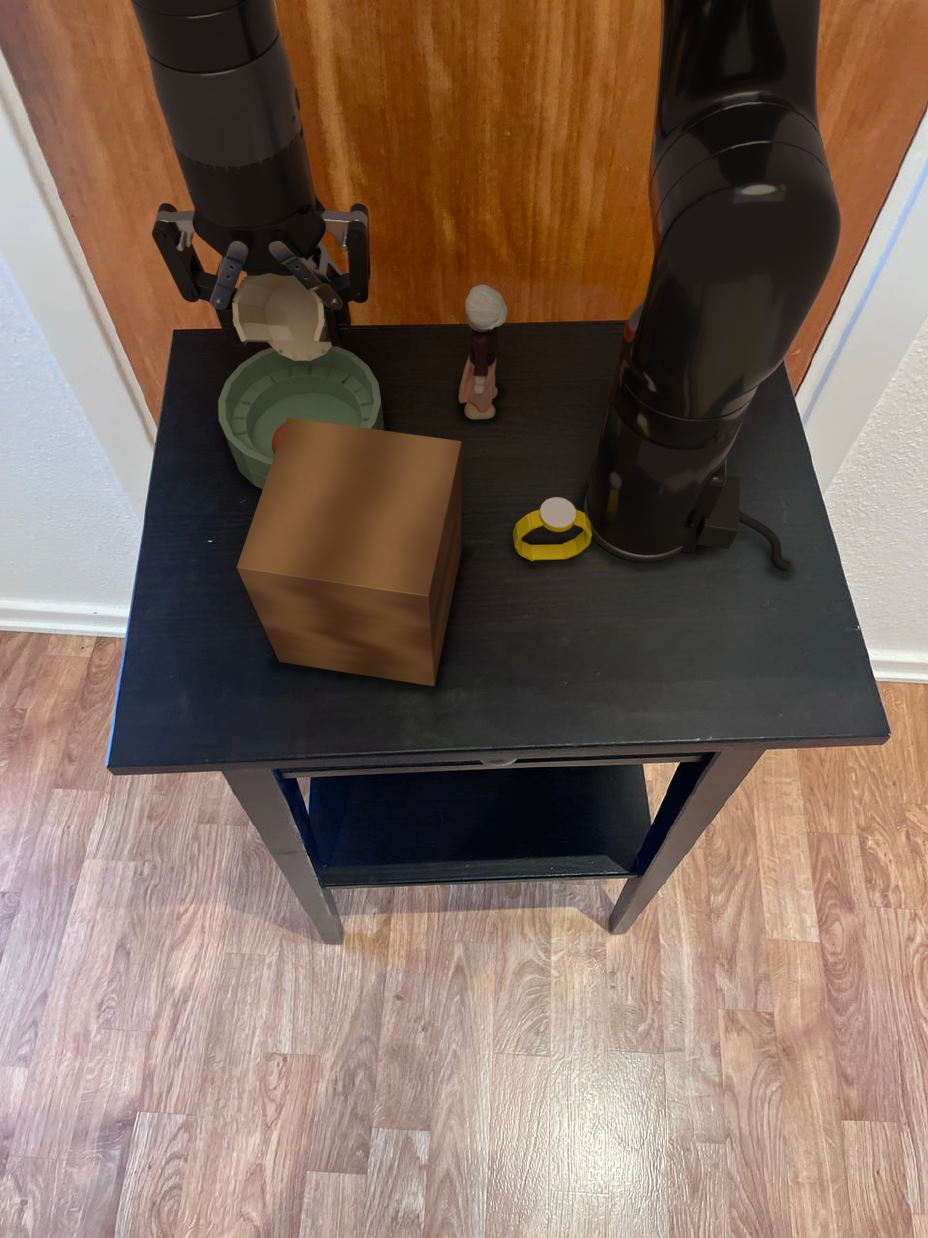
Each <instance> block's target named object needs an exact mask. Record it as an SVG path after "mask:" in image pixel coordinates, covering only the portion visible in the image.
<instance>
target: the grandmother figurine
mask: <svg viewBox="0 0 928 1238" xmlns="http://www.w3.org/2000/svg"><path fill="white" fill-rule="evenodd" d="M464 309H465V319H466V322H467V324H468V326H469V327H470V329H471V333H470V340H469V354H468V358H467V360H466V362H465V366H464V369H463V373H462V375H461V380H460V385H459V390H458V391H459V392H458V398H457V399H458V403H460V404H465V406H464V411H463V413H464V415H465V416H466V418H467V419H470V420H489V419H492V418H493V417H494V416H495V415H496V408H495V406H494V404H493V399H496V397H497V395H498V392H499V390H498V388H497V386H496V366H497V358H498V355H499V337H498V334H499V333H498V328H499V327H501V326H502V325H504V324H505V322H506V321H507V316H508V313H509V312H508V307H507V304H506V303H505V301H504V298H503V296H502V294H501V293H500V292H499V291H498V290H496V289H495V288H493V287H491V286H489V285H487V284H478V285H476V286H473V287H472V288H471V289H470V290H469V292H468V295H467V297H466V299H465V304H464Z"/></svg>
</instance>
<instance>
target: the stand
mask: <svg viewBox="0 0 928 1238" xmlns="http://www.w3.org/2000/svg"><path fill="white" fill-rule="evenodd" d="M462 445H463V443H462V441H461V440H457V439H448V438H440V437H433V436H427V435H418V434H412V433H404V432H396V431H389V430H384V431H383V430H375V429H368V428H361V427H353V426H346V425H339V424H332V423H324V422H317V421H310V420H302V419H295V418H287V420H286V422H285V425H284V428H283V431H282V434H281V437H280V440H279V443H278V446H277V449H276V452H275V455H274V458H273V461H272V464H271V467H270V470H269V473H268V476H267V479H266V482H265V485H264V488H263V489H262V491H261V494H260V497H259V499H258V503H257V505H256V508H255V511H254V515H253V517H252V520H251V523H250V526H249V530H248V533H247V535H246V538H245V541H244V544H243V547H242V551H241V553H240V556H239V558H238V563H237V565H236V569H237V571H238V574H239V577H240V578H241V580H242V583H243V585H244V587H245V590H246V591H247V594H248V596H249V598H250V601H251V603H252V605H253V607H254V609H255V611H256V614H257V616H258V618H259V621H260V623H261V625H262V627H263V629H264V632H265V633H266V636H267V638H268V641H269V643H270V645H271V648H272V649H273V651H274V654H275V656H276V658H277V660H278V662H279V663H283V664H284V663H285V664H290V665H298V666H303V667H310V668H316V669H321V670H329V671H336V672H342V673H346V674H353V675H360V676H367V677H372V678H380V679H385V680H392V681H399V682H406V683H410V684H417V685H422V686H423V685H424V686H428V687H429V686H430V687H435V686H436V681H437V677H438V671H439V666H440V660H441V657H442V650H443V645H444V641H445V637H446V630H447V628H448V627H447V626H448V621H449V615H450V611H451V607H452V600H453V595H454V591H455V586H456V581H457V575H458V570H459V566H460V561H461V556H462V499H463V497H462V495H463V494H462V491H463V489H462V488H463V487H462V479H463V475H462V471H463V469H462V468H463V467H462V460H463V459H462V457H463V456H462V455H463V453H462V448H463V447H462Z"/></svg>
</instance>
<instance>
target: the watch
mask: <svg viewBox="0 0 928 1238" xmlns="http://www.w3.org/2000/svg"><path fill="white" fill-rule="evenodd" d="M573 526H576V527H578V528H582V531H581V532H580V533H579V534H578V535H577V536H575V538H572V539H570V540H568V541H566V542H563V543H559V544H558V543H557V544H556V543H555V544H529V543H528V542H526V541H523V540H522V539H523V537H524V536H525V535H527V534H528V533H530V532H531V531H532V530H535V529H537V528H541V527H544V528H545V529H546V530H548V531H551V532H555V533H563V532H566V531H568V530H570V529H571V528H572V527H573ZM512 537H513V545H514V549H515V550H516V553H517V554H518V555H519V556H520V557H522V558H525V559H526V560H529V561H531V562H534V561H554V560H555V561H556V560H568V559H571V558H573V557H575V556H577V555H579V554H581V553H582V552H583V551H584V550H585V549H586V548H587V547H589V546H590V544H591V541H592V538H593V537H592V532H591V526H590V521H589V519H588V518H587V516H586V515H585V513H584V512H583V511H581V510H578V509H577V508H576V507H575V505H574V504H573V503H572V502H571V501H570V500H568V499H566V498H564V497H558V496H555V497H550V498H547V499H546V500H545V501H544V502H542V504H541V506H540V507H539V509H536V510H533V511H530V512H529V513H527V514H526V515H524V516H523V517H522V518H520V519H519V520H518V521H516V523H515V526H514V527H513V530H512Z"/></svg>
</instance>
